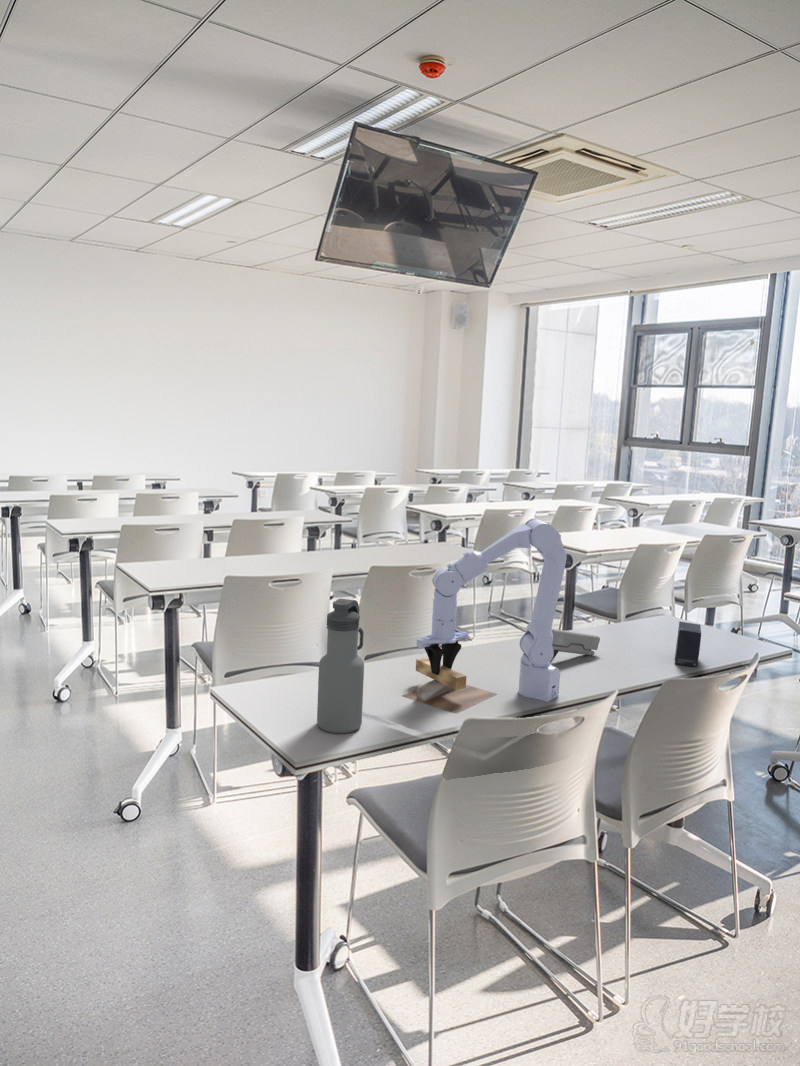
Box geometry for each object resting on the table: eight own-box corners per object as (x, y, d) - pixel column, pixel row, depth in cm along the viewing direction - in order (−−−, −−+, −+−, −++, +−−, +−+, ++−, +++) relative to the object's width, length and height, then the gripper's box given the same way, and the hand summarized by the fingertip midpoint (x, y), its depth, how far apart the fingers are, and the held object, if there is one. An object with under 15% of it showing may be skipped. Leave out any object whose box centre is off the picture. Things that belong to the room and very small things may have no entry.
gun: (529, 661, 226) (537, 626, 226) (587, 667, 241) (595, 635, 241) (535, 663, 224) (544, 628, 224) (593, 670, 239) (601, 637, 239)
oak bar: (415, 670, 204) (416, 659, 204) (425, 668, 206) (425, 657, 205) (455, 690, 191) (456, 677, 191) (465, 688, 193) (466, 676, 192)
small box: (698, 668, 232) (702, 632, 230) (674, 664, 234) (678, 629, 232) (697, 657, 242) (701, 623, 240) (674, 654, 244) (678, 620, 242)
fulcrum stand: (497, 697, 199) (498, 682, 199) (456, 717, 185) (457, 700, 185) (443, 682, 209) (444, 667, 208) (401, 699, 195) (401, 683, 194)
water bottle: (327, 713, 184) (331, 593, 179) (368, 720, 181) (373, 598, 177) (309, 730, 174) (314, 603, 170) (352, 737, 171) (358, 608, 167)
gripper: (430, 626, 188) (427, 682, 191) (477, 619, 197) (474, 672, 199) (412, 618, 194) (409, 673, 196) (459, 612, 203) (456, 664, 205)
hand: (440, 672), depth 198 cm, fingers closed on oak bar, 3 cm apart
